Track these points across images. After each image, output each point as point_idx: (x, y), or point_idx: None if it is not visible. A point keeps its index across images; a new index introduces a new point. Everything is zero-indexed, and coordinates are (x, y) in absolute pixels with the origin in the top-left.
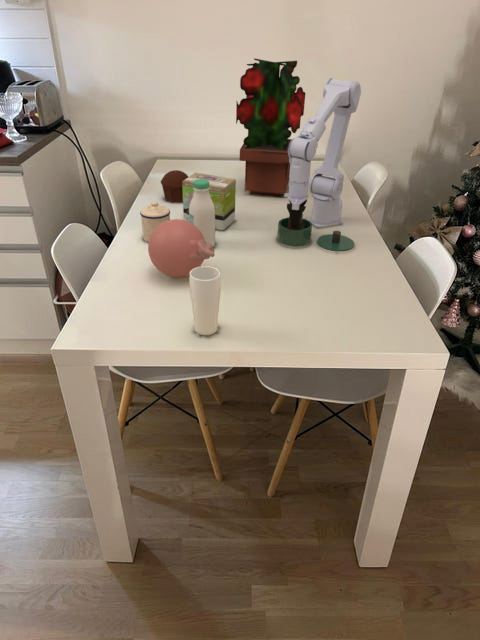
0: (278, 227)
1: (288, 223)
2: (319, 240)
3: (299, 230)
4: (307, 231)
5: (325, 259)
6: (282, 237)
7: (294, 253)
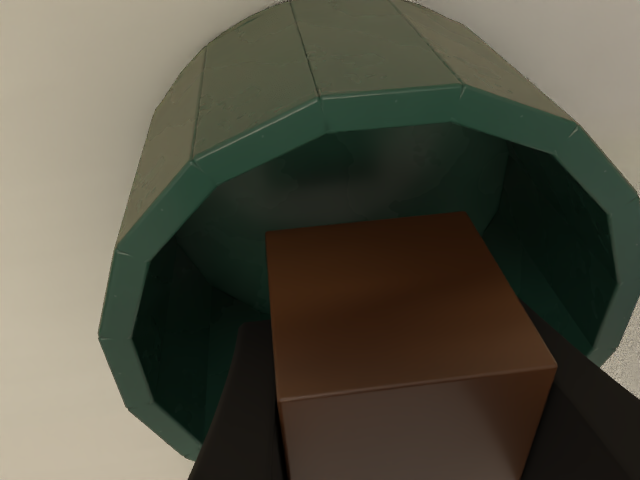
0: (283, 82)
1: (271, 307)
2: None
3: (151, 426)
4: None
5: (65, 450)
6: (154, 137)
7: (29, 251)
